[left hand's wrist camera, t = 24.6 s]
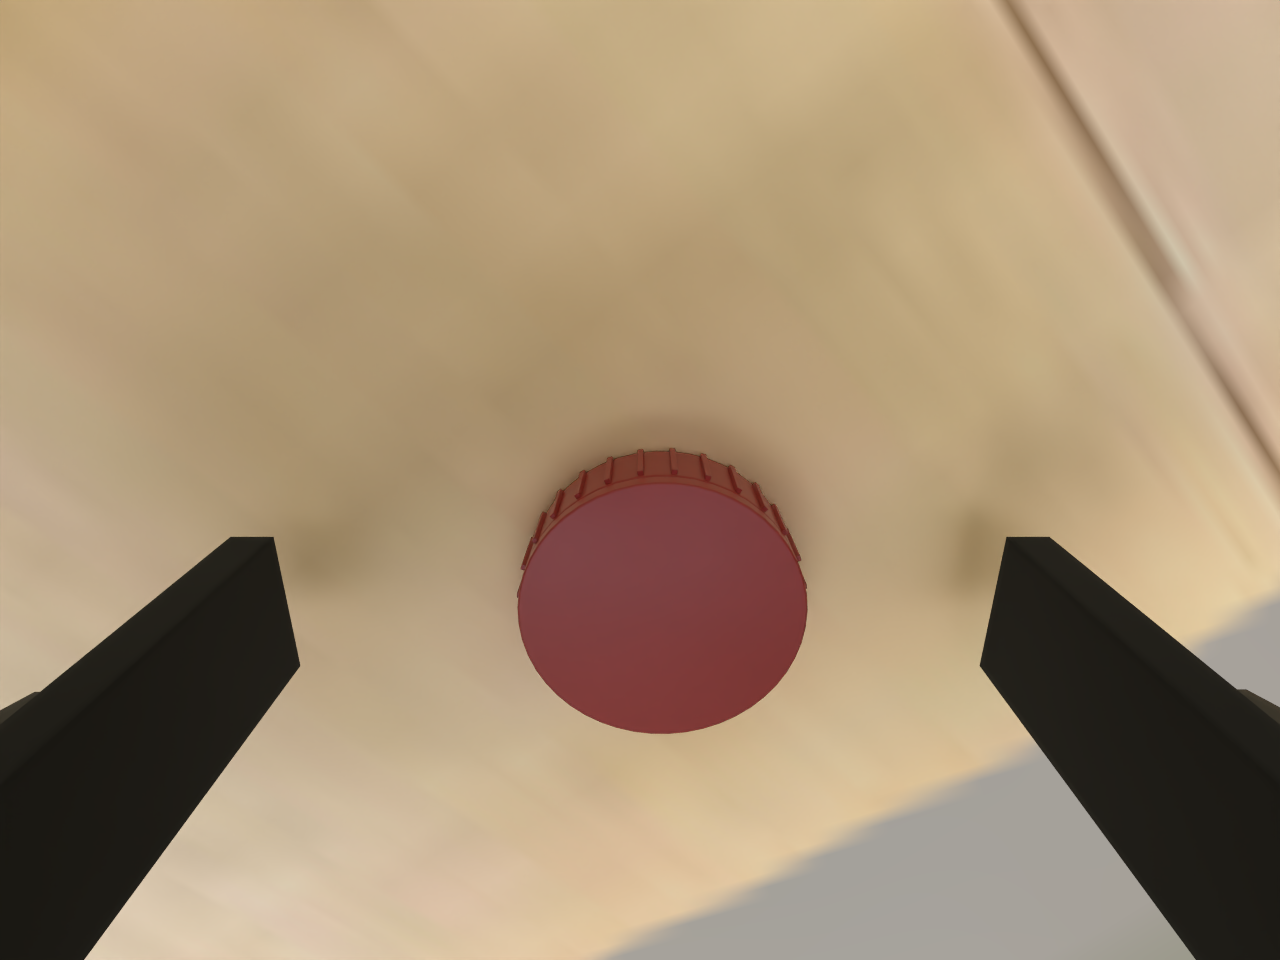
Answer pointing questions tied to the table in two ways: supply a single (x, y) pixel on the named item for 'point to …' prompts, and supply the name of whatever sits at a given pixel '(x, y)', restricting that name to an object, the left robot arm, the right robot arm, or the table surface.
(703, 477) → the lid
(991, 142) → the table surface
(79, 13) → the table surface
